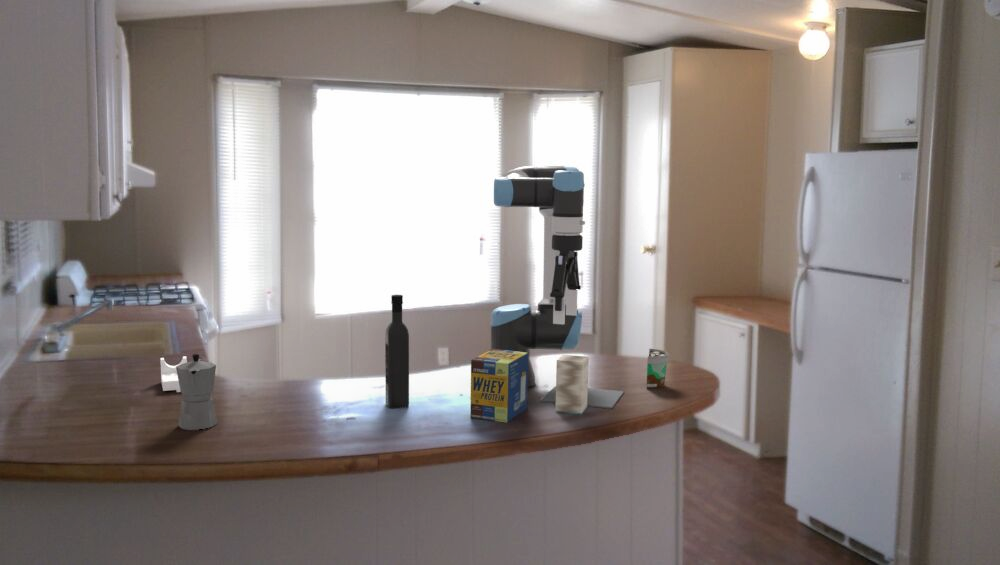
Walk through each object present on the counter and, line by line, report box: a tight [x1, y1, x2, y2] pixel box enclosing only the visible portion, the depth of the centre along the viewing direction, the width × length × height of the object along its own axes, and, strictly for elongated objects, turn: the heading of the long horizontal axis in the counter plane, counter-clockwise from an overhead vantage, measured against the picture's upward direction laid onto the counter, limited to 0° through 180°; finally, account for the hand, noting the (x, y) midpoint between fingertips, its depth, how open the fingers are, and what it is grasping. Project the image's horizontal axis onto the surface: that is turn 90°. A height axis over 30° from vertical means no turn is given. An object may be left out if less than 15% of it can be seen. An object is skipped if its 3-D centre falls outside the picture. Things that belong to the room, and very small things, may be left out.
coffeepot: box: [175, 353, 218, 431], centre depth 228 cm, size 15×9×18 cm, turn 13°
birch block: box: [555, 354, 590, 415], centre depth 246 cm, size 7×7×14 cm
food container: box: [646, 348, 670, 390], centre depth 273 cm, size 12×6×10 cm, turn 168°
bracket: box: [160, 356, 188, 393], centre depth 264 cm, size 13×7×8 cm, turn 22°
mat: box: [539, 385, 625, 410], centre depth 260 cm, size 20×18×1 cm
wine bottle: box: [384, 294, 410, 409], centre depth 246 cm, size 6×6×30 cm
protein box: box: [470, 348, 528, 424], centre depth 242 cm, size 10×15×16 cm
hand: (565, 319), depth 229 cm, fingers open, 13 cm apart
